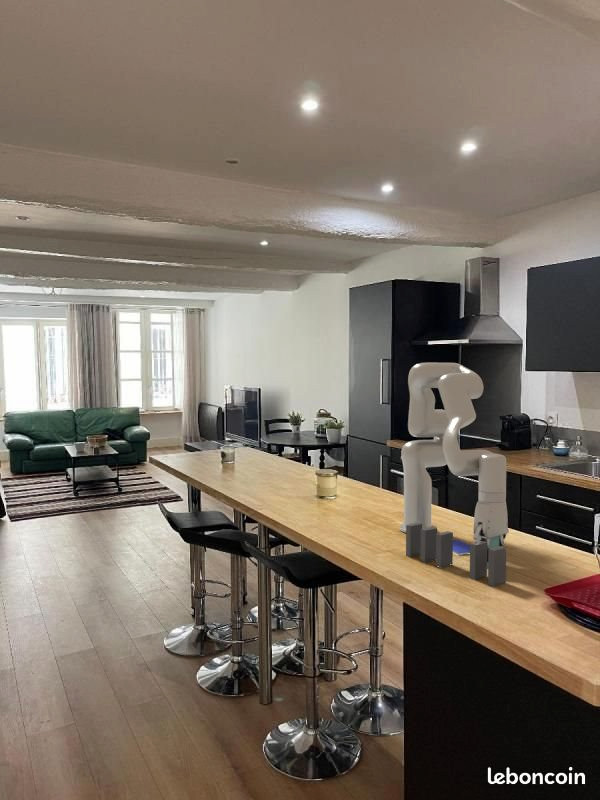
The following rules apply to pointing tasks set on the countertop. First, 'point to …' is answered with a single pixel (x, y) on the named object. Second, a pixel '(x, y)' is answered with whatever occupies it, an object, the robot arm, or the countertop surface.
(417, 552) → the tile
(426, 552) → the tile
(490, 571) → the tile
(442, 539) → the tile
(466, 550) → the hard drive
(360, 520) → the countertop surface
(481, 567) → the tile
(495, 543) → the tile
